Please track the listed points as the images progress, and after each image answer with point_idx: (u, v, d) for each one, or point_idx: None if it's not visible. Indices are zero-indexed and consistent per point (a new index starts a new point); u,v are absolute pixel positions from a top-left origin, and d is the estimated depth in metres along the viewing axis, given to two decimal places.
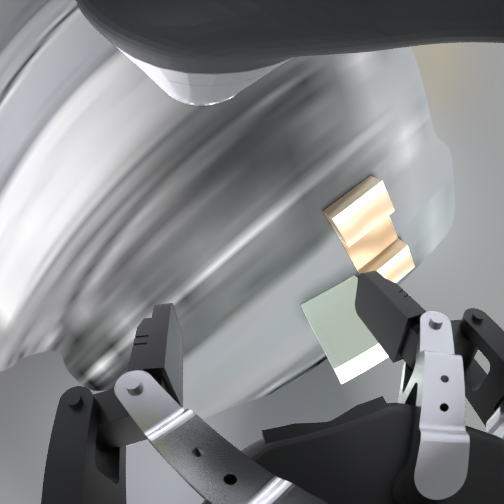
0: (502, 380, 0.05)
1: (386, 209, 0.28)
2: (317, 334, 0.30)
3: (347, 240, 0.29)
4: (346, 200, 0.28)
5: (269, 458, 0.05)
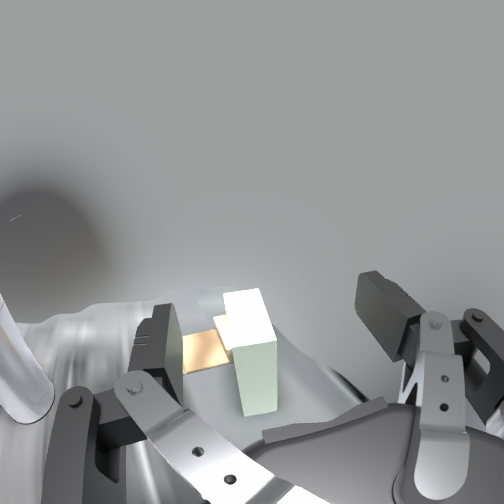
0: (502, 380, 0.05)
1: None
2: None
3: None
4: None
5: (269, 458, 0.05)
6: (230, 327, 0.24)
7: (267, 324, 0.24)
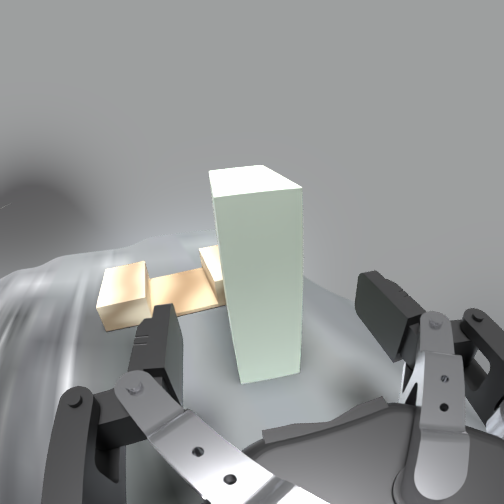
0: (502, 380, 0.05)
1: (136, 266, 0.25)
2: (228, 306, 0.13)
3: (134, 297, 0.20)
4: None
5: (269, 458, 0.05)
6: (214, 185, 0.13)
7: (281, 179, 0.13)
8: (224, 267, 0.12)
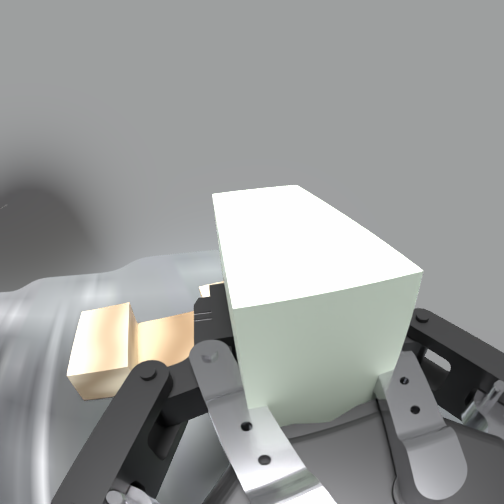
0: (468, 375, 0.06)
1: (118, 311, 0.19)
2: None
3: (114, 365, 0.14)
4: None
5: None
6: (227, 244, 0.06)
7: (359, 233, 0.07)
8: None
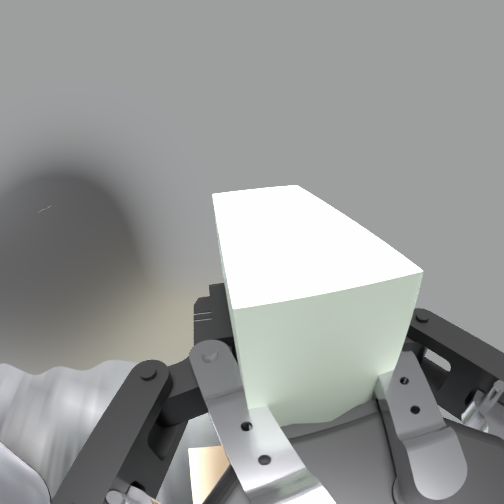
0: (468, 375, 0.06)
1: None
2: None
3: None
4: None
5: None
6: (227, 244, 0.06)
7: (359, 233, 0.07)
8: None
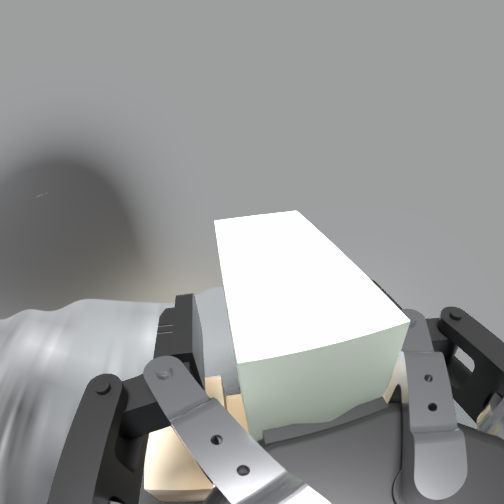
0: (489, 377, 0.05)
1: (206, 389, 0.14)
2: None
3: None
4: None
5: None
6: (230, 288, 0.07)
7: (354, 275, 0.07)
8: (254, 439, 0.06)
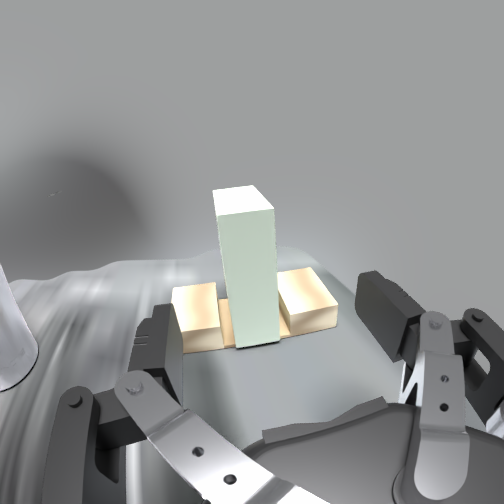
0: (502, 380, 0.05)
1: (206, 288, 0.27)
2: (227, 287, 0.20)
3: (209, 325, 0.21)
4: None
5: (269, 458, 0.05)
6: (217, 205, 0.20)
7: (262, 201, 0.20)
8: (224, 260, 0.19)
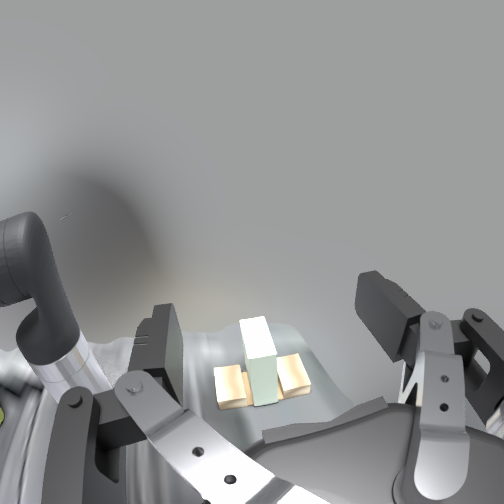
0: (502, 380, 0.05)
1: (235, 369, 0.42)
2: (251, 383, 0.35)
3: (240, 397, 0.37)
4: None
5: (269, 458, 0.05)
6: (246, 345, 0.35)
7: (270, 343, 0.35)
8: (250, 374, 0.34)
